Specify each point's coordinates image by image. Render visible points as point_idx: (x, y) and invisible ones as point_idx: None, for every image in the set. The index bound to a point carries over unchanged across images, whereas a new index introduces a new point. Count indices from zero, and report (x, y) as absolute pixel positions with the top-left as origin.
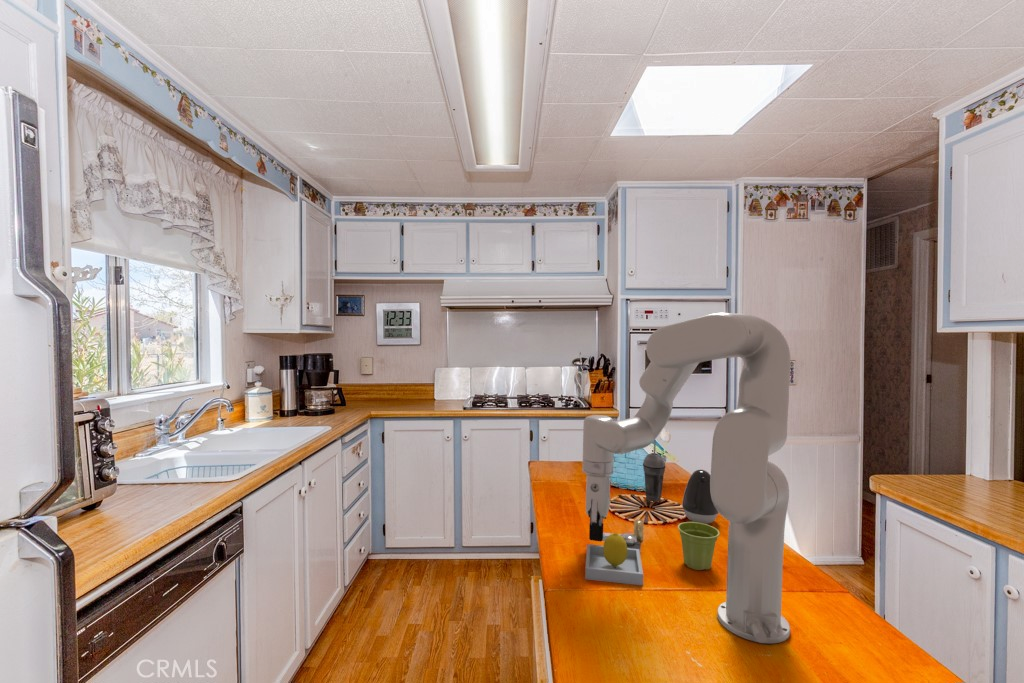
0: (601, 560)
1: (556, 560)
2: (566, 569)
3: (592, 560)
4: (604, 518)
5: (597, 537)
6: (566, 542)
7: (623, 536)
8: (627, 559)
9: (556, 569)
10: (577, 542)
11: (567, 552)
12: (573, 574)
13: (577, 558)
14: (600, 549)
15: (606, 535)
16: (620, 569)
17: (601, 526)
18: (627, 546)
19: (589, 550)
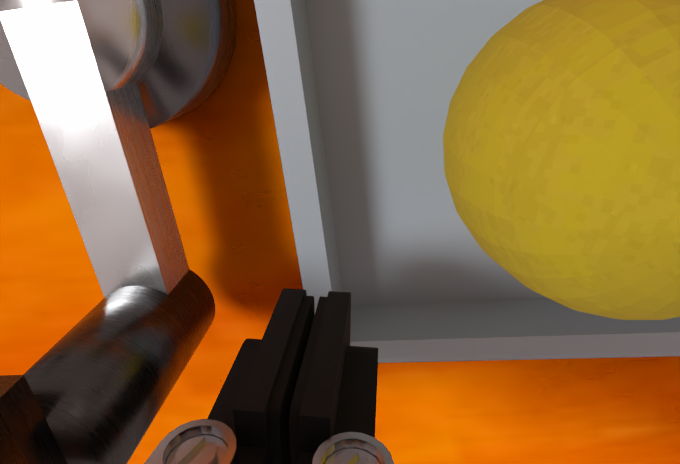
0: (440, 223)
1: (471, 460)
2: (583, 409)
3: (458, 284)
4: (30, 391)
5: (375, 357)
6: None
7: (76, 72)
8: (354, 1)
9: (591, 454)
10: (180, 378)
11: None
12: (649, 370)
13: (410, 363)
14: (329, 256)
15: (148, 248)
16: None
17: (332, 418)
18: (178, 14)
19: (430, 343)
